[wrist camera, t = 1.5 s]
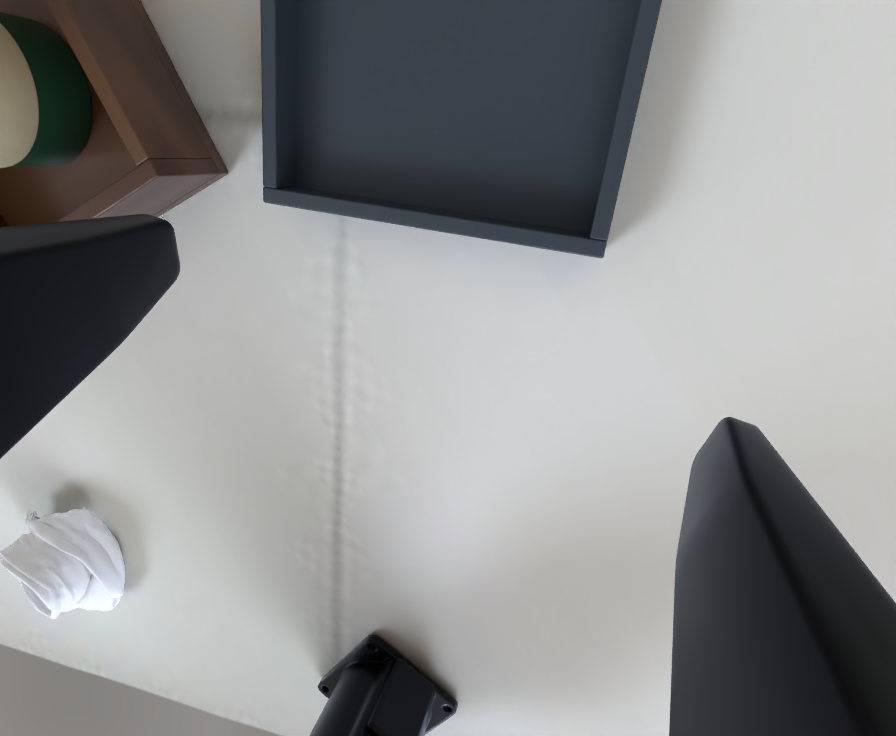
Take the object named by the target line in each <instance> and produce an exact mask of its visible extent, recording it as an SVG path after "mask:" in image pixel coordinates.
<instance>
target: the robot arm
mask: <svg viewBox="0 0 896 736" xmlns="http://www.w3.org/2000/svg"><path fill="white" fill-rule="evenodd" d="M179 272H180V262H179V256H178V250H177V244H176V238H175V232H174V229H173V227H172V225H171V224H170V223H169V222H168V221H166V220H163V219H160V218H158V217H155V216H152V215H149V214H135V215H125V216H114V217H104V218H93V219H83V220H73V221H62V222H52V223H41V224H31V225H21V226H10V227H0V459H1V458H2V457H3V456H4V455H5V454H6V453H7V452H8V451H9V450H10V449H11V448H12V447H13V446H14V445H15V444H16V443H17V442H18V441H20V440H21V439H22V438H23V437H24V436H25V435H26V434H27V433H28V432H29V431H30V430H31V429H32V428H33V427H34V426H35V425H36V424H37V423H38V422H40V421H41V420H42V419H43V418H44V417H45V416H46V415H47V414H48V413H49V412H50V411H51V410H52V409H53V408H54V407H55V406H56V405H57V404H59V403H60V402H61V401H62V400H63V399H64V398H65V397H66V396H67V395H68V394H69V393H70V392H71V391H72V390H73V389H74V388H75V387H76V386H77V385H79V384H80V383H81V382H82V381H83V380H84V379H85V378H86V377H87V376H88V375H89V374H90V373H91V372H92V371H93V370H94V369H95V368H96V367H97V366H99V365H100V364H101V363H102V362H103V361H104V360H105V359H106V358H107V357H108V356H109V355H110V354H111V353H112V352H113V351H114V350H115V349H116V348H117V347H118V346H119V345H120V344H121V343H122V342H123V341H124V340H125V339H126V338H127V337H128V336H129V334H130V333H131V332H132V331H133V330H134V329H135V328H136V326H137V325H138V324H139V323H140V322H141V320H142V319H143V318H144V317H145V316H146V315H147V313H148V312H149V311H150V310H151V309H152V308H153V306H154V305H155V304H156V303H157V302H158V301H159V299H160V298H161V297H162V296H163V295H164V294H165V292H166V291H167V290H168V289H169V288H170V287H171V285H172V284H173V283H174V282H175V281H176V279H177V277H178V275H179ZM318 688H319V690H320V691H321V693H323V694H324V695H325V696H326V697H328V698H329V700H328V702H327V704H326V705H325V707H324V709H323V711H322V713H321V715H320V717H319V719H318V721H317V723H316V724H315V726H314V728H313V730H312V732H311V734H310V736H424V735H425V734H427V733H428V732H430V731H431V730H433V729H434V728H435V727H437V726H438V725H440V724H441V723H443V722H444V721H445V720H447V719H448V718H450V717H451V716H453V715H454V714H455V713H456V709H457V701H456V700H455V699H454V698H453V697H451V696H450V695H449V694H448V693H447V692H445V691H444V690H443V689H442V688H440V687H439V686H438V685H437V684H436V683H434V682H433V681H432V680H431V679H429V678H428V677H427V676H426V675H425V674H423V673H422V672H421V671H420V670H419V669H417V668H416V667H415V666H414V665H412V664H411V663H410V662H409V661H408V660H406V659H405V658H404V657H403V656H401V655H400V654H399V653H398V652H397V651H395V650H394V649H393V648H392V647H390V646H389V645H388V644H387V643H386V642H384V641H383V640H382V639H381V638H380V637H378V636H376V635H369V636H368V637H367V638H366V639H365V640H364V641H362V642H361V643H360V644H359V645H358V646H357V647H356V648H355V649H354V650H353V651H352V652H350V653H349V654H348V655H347V656H346V657H345V658H344V659H343V660H342V661H341V662H340V663H338V664H337V665H336V666H335V667H334V668H333V669H332V670H331V671H330V672H329V673H328V674H326V675H325V676H324V677H323V678H322V680H321V681H320V683H319V685H318ZM669 736H896V603H895V602H894V600H893V599H892V598H891V597H890V595H889V594H888V593H887V592H886V590H885V589H884V588H883V586H882V585H881V584H880V583H879V581H878V580H877V579H876V577H875V576H874V575H873V574H872V572H871V571H870V570H869V569H868V567H867V566H866V565H865V563H864V562H863V561H862V560H861V558H860V557H859V556H858V554H857V553H856V552H855V551H854V549H853V548H852V547H851V546H850V544H849V543H848V542H847V540H846V539H845V538H844V537H843V535H842V534H841V533H840V532H839V530H838V529H837V528H836V526H835V525H834V524H833V523H832V521H831V520H830V519H829V517H828V516H827V515H826V514H825V512H824V511H823V510H822V509H821V507H820V506H819V505H818V503H817V502H816V501H815V500H814V498H813V497H812V496H811V495H810V493H809V492H808V491H807V489H806V488H805V487H804V486H803V484H802V483H801V482H800V480H799V479H798V478H797V477H796V475H795V474H794V473H793V472H792V470H791V469H790V468H789V466H788V465H787V464H786V463H785V461H784V460H783V459H782V458H781V456H780V455H779V454H778V452H777V451H776V450H775V449H774V447H773V446H772V445H771V443H770V442H769V441H768V440H767V438H766V437H765V436H764V435H763V433H762V432H761V431H760V430H759V428H758V427H756V426H755V425H752V424H749V423H746V422H744V421H741V420H738V419H735V418H732V417H726V418H724V419H723V420H721V421H720V422H719V423H718V425H717V426H716V428H715V429H714V430H713V432H712V433H711V435H710V436H709V437H708V439H707V440H706V442H705V443H704V445H703V446H702V447H701V449H700V450H699V452H698V453H697V455H696V457H695V459H694V461H693V464H692V468H691V473H690V479H689V485H688V491H687V497H686V502H685V508H684V514H683V520H682V526H681V532H680V538H679V544H678V551H677V558H676V570H675V591H674V619H673V647H672V674H671V702H670V730H669Z"/></svg>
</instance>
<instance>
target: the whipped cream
mask: <svg viewBox="0 0 896 736" xmlns="http://www.w3.org/2000/svg"><path fill="white" fill-rule="evenodd" d="M31 514H32V512H31V511H29V512H28V513H27V518H26V524H27V526H28V528H29V530H30V532H31V533H30V534H23V535H22V536H21V537H20V538H19V539H18V540H16V541H15V542H14V543H13V544H12V545H10V546H8V547H7V548H5V549H4V550H2V551H1V552H0V554H1V556H2V557H1V562H2V564H3V566H4V568H6V570H7V571H9V572H10V573H11V574H12V575H14V576H16V577H17V578H18V580H19V582H20V584H21V586H22V588H23V591H24V592H25V594H26V596H27V598H28V599H29V600H30V602H31V603H32V605H33V606H34V607H35V608H36V609H37V610H38V611H39V612H40V613H42V614H44V615H46V616H48V617H49V618H52V619H55V618H57V616H58V615H59V614H60V613H61V612H62V611H70V610H73V609H75V608H85V609H86V610H99V611H109V610H112V609H113V608H114V607H115V605H116V604H117V603H118V602H119V601H120V598H121V597H122V595H123V592H124V583H125V564H124V560H123V557H122V553H121V550H120V547H119V544H118V542H117V540H116V538H115V537H114V536H113V535H112V534H111V533H110V531H109V528H108V527H107V525H106V524H105V523H104V522H103V521H102V520H101V519H100V518H99V517H98V516H97V515H95V514H94V513H93V512H91V511H89V510H88V509H86V508H84V507H83V508H82V509H71V510H69V511H68V512H66V513H54V514H52V515H45V516H43V517H41V518H38V517H37V512H36V511H35V512H34V513H33V516H32V519H31V518H30V515H31Z"/></svg>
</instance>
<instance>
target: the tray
mask: <svg viewBox="0 0 896 736" xmlns="http://www.w3.org/2000/svg"><path fill="white" fill-rule="evenodd" d="M661 2H662V0H261V64H262V134H263V185H264V186H265V187H264V188H263V201H264V202H265V203H271V204H277V205H283V206H289V207H295V208H301V209H307V210H313V211H319V212H325V213H331V214H337V215H343V216H349V217H355V218H361V219H367V220H374V221H380V222H386V223H392V224H398V225H404V226H410V227H416V228H422V229H428V230H434V231H440V232H446V233H452V234H458V235H464V236H470V237H476V238H482V239H488V240H494V241H500V242H506V243H512V244H518V245H524V246H530V247H536V248H542V249H549V250H555V251H561V252H567V253H573V254H579V255H585V256H591V257H597V258H603V257H604V252H605V248H606V244H607V239H608V235H609V230H610V226H611V222H612V217H613V213H614V209H615V204H616V200H617V195H618V191H619V187H620V182H621V178H622V173H623V169H624V165H625V160H626V156H627V151H628V147H629V143H630V138H631V134H632V129H633V125H634V121H635V116H636V112H637V107H638V103H639V99H640V94H641V90H642V86H643V81H644V77H645V72H646V68H647V64H648V59H649V55H650V50H651V46H652V42H653V37H654V33H655V28H656V24H657V20H658V15H659V11H660V6H661Z"/></svg>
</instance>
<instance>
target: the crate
mask: <svg viewBox="0 0 896 736" xmlns="http://www.w3.org/2000/svg"><path fill="white" fill-rule="evenodd" d="M0 12H3V13H7V14H11V15H15V16H20V17H24V18H28V19H32V20H35V21H37V22H40V23H41V24H43V25H45V26H47V27H48V28H49V29H51V30H52V31H53V32H55V33H56V34H57V35H58V36H59V37H60V38H61V39H62V40H63V41H64V42H65V43H66V45H67V46H68V47H69V48H70V50H71V51H72V53H73V54H74V56H75V58H76V59H77V61H78V63H79V65H80V67H81V69H82V71H83V73H84V76H85V79H86V82H87V85H88V89H89V93H90V98H91V106H92V123H91V130H90V134H89V138H88V140H87V142H86V145H85V147H84V148H83V150H82V151H81V152H80V154H79V155H78V156H77V157H76V158H74V159H73V160H72V161H70V162H68V163H66V164H63V165H59V166H24V167H6V168H0V227H10V226H21V225H31V224H41V223H52V222H62V221H73V220H83V219H93V218H104V217H114V216H125V215H135V214H149V215H152V216H155V217H159V216H160V215H162V214H163V213H165V212H167V211H168V210H170V209H171V208H173V207H175V206H176V205H178V204H180V203H181V202H183V201H184V200H186V199H188V198H189V197H191V196H193V195H194V194H196V193H197V192H199V191H201V190H202V189H204V188H206V187H207V186H209V185H210V184H212V183H214V182H215V181H217V180H219V179H220V178H222V177H223V176H225V175H227V174H228V172H227V170H226V168H225V166H224V164H223V162H222V160H221V158H220V156H219V154H218V152H217V150H216V148H215V146H214V144H213V142H212V140H211V139H210V137H209V135H208V133H207V131H206V129H205V127H204V125H203V123H202V121H201V119H200V117H199V115H198V113H197V111H196V109H195V107H194V105H193V103H192V102H191V100H190V98H189V96H188V94H187V92H186V90H185V88H184V86H183V84H182V82H181V80H180V78H179V76H178V74H177V72H176V70H175V68H174V66H173V65H172V63H171V61H170V59H169V57H168V55H167V53H166V51H165V49H164V47H163V45H162V43H161V41H160V39H159V37H158V35H157V33H156V31H155V30H154V28H153V26H152V24H151V22H150V20H149V18H148V16H147V14H146V12H145V10H144V8H143V6H142V4H141V2H140V0H0Z"/></svg>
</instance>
